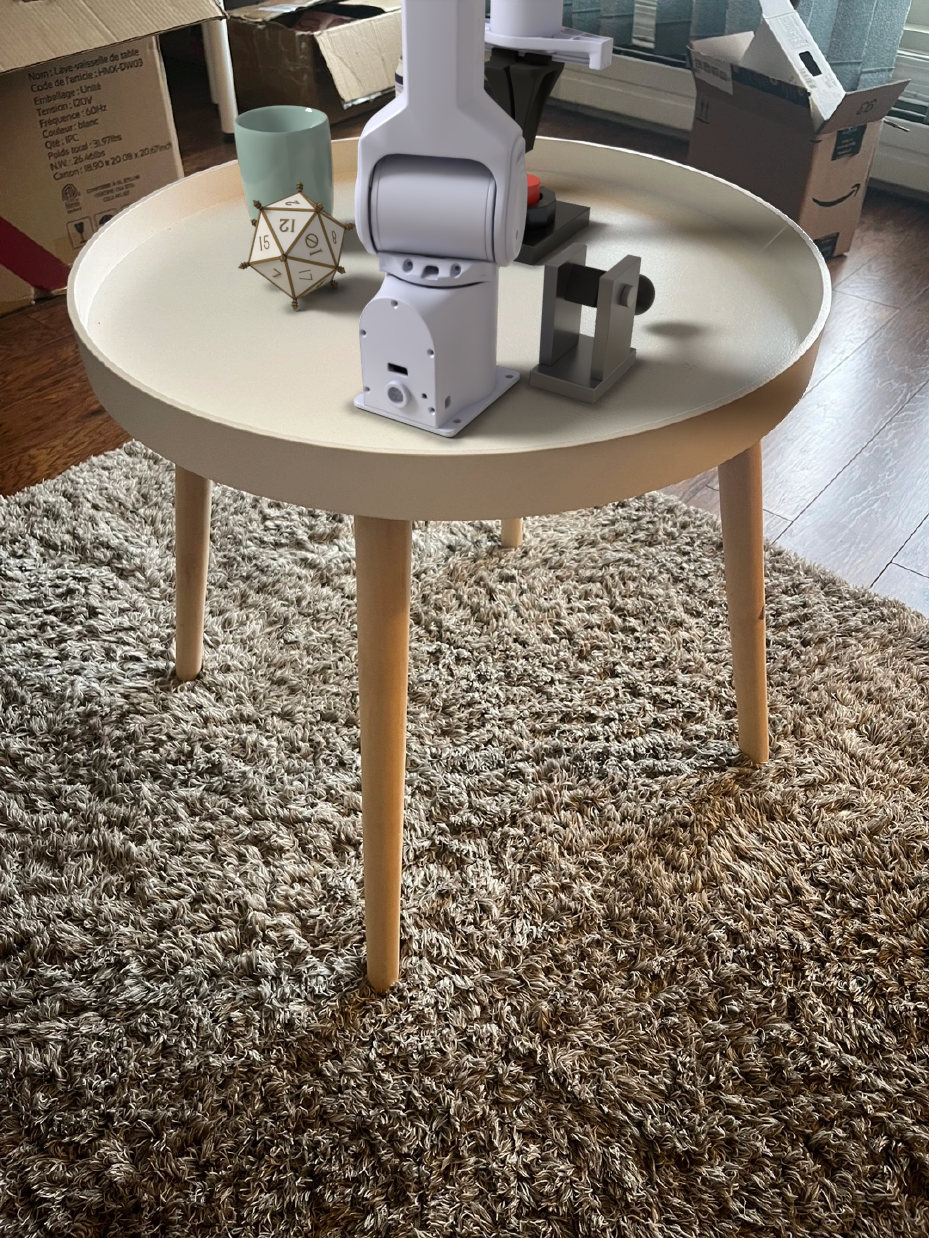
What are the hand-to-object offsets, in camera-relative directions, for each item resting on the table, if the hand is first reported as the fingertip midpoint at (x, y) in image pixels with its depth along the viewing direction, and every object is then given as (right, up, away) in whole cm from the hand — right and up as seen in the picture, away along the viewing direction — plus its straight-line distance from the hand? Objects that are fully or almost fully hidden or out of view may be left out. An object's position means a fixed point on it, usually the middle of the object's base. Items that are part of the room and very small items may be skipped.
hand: (520, 151), depth 86 cm
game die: (-18, -14, -5) cm, 23 cm away
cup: (-20, -6, +4) cm, 21 cm away
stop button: (0, -3, +3) cm, 4 cm away
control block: (0, -5, +5) cm, 7 cm away
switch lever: (+5, -18, -14) cm, 24 cm away
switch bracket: (+4, -23, -14) cm, 27 cm away
